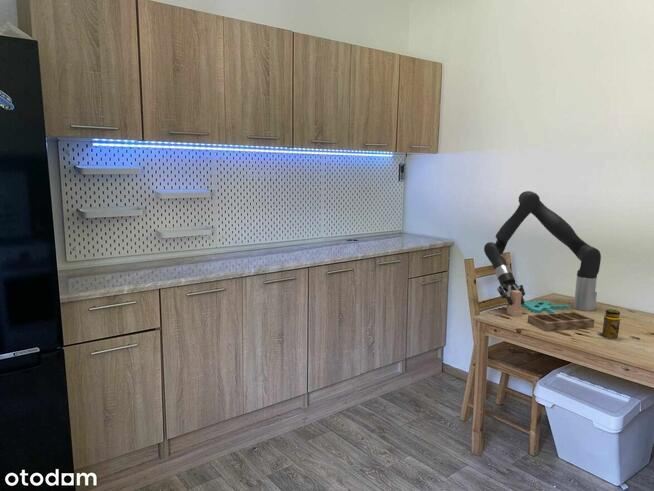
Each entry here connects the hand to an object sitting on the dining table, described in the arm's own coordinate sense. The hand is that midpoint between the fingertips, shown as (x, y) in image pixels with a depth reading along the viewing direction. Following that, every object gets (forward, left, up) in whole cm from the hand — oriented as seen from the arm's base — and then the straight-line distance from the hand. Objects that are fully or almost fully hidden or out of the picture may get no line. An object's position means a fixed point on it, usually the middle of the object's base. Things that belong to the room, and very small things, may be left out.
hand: (517, 304), depth 239 cm
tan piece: (+1, -2, -6) cm, 6 cm away
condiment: (-31, +26, -6) cm, 41 cm away
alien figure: (-17, -14, -6) cm, 23 cm away
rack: (-16, +12, -6) cm, 21 cm away
